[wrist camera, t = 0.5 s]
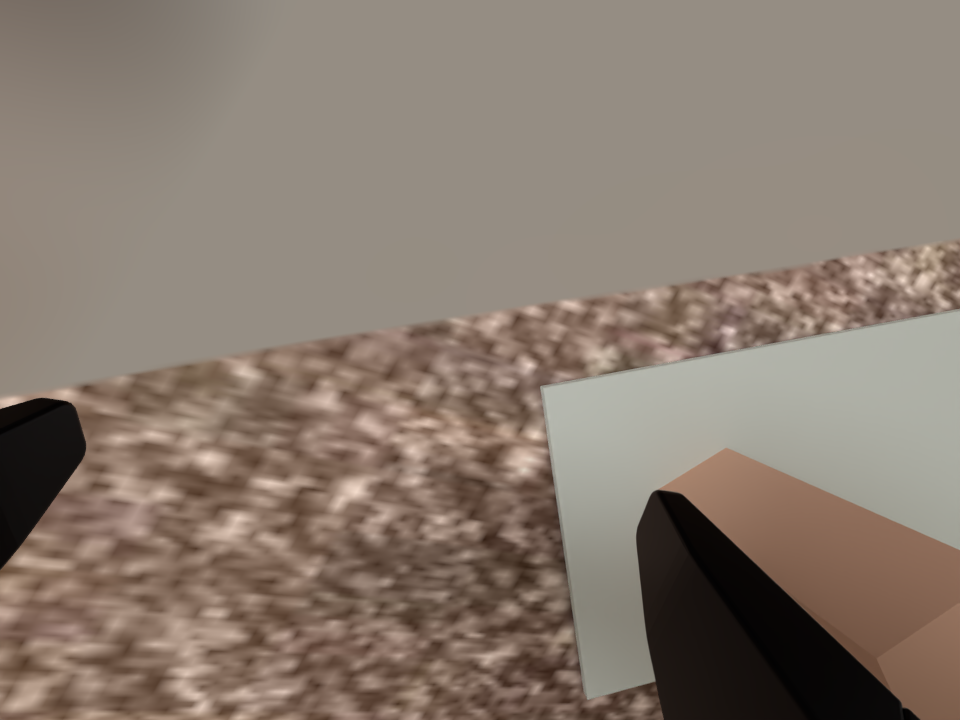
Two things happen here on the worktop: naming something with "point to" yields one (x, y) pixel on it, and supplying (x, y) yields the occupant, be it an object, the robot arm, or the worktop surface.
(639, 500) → the rubber mat
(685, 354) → the worktop surface
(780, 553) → the terracotta slab
